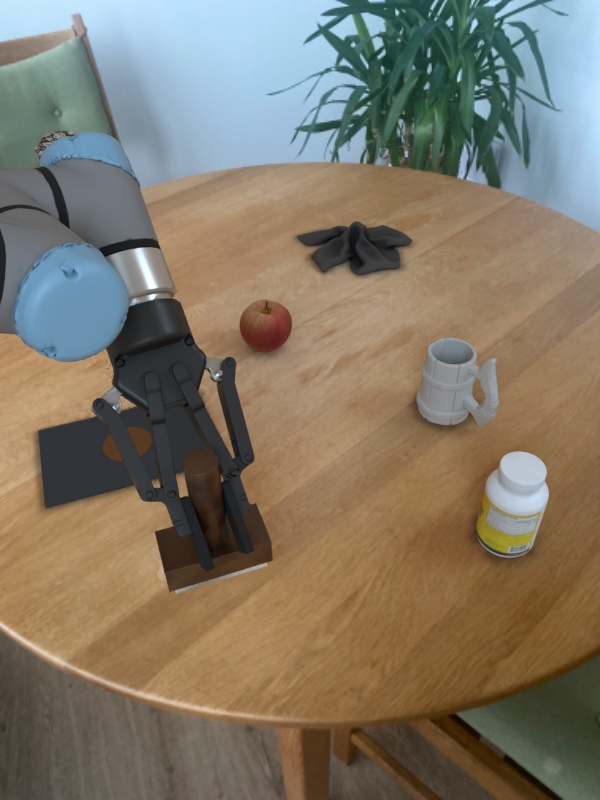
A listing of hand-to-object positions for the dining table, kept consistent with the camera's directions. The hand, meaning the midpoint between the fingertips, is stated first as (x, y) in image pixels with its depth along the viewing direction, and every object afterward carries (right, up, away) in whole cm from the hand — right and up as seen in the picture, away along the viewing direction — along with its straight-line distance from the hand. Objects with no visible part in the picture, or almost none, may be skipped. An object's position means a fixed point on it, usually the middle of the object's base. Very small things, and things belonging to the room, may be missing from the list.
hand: (227, 559), depth 60 cm
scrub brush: (-2, -2, +6) cm, 6 cm away
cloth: (+16, +42, +68) cm, 82 cm away
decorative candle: (-31, +37, +63) cm, 80 cm away
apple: (+1, +23, +46) cm, 51 cm away
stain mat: (-16, +8, +29) cm, 35 cm away
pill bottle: (+30, -2, +17) cm, 34 cm away
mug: (+28, +12, +33) cm, 44 cm away
